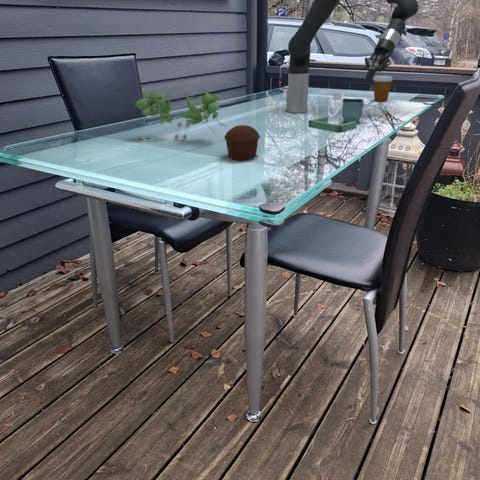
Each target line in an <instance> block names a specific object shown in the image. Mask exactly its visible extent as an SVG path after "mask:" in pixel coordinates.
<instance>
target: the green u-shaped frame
mask: <svg viewBox="0 0 480 480" xmlns="http://www.w3.org/2000/svg"><path fill="white" fill-rule="evenodd" d="M332 93H333V95H332V99H333V100H335V101H340V108H339V121H338V122H339V123H338V124H335V123H331V122H329V120H328V119H329V116H321V117H318V118H313V119H309V120H308V125H307V127H308V128H309V127H310V128H314V129H318V130H319V129H320V130H324V131H329V132H335V133H339V132H341V133H344V132H347V131H348V132H349V131H350V130H351V131H352V130H355V129H357V124H358V123H357V122H355V121H353V122H349V123H345V122H344V123H342V119H343V116H342V106H343V99H344V93H340V92H332Z"/></svg>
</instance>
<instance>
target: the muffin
mask: <svg viewBox="0 0 480 480" xmlns="http://www.w3.org/2000/svg"><path fill="white" fill-rule="evenodd" d="M223 138H224V140H225V143H226V147H227V155H228V158H229V159H231V160H232V161H240V162H241V160H242V161H250V160H253V159H252V158H254V159H255V157H257V151H258V145H259V139H260V138H261V136H260V134H259V132H258V131H257V129H255V127H252V126H250V125H246V124H245V125H243V124H242V125H235V126H233V127H232V128H230V129H229V130H228V131H227V132H226V133H225V135H224V136H223ZM249 159H250V160H249Z"/></svg>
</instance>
